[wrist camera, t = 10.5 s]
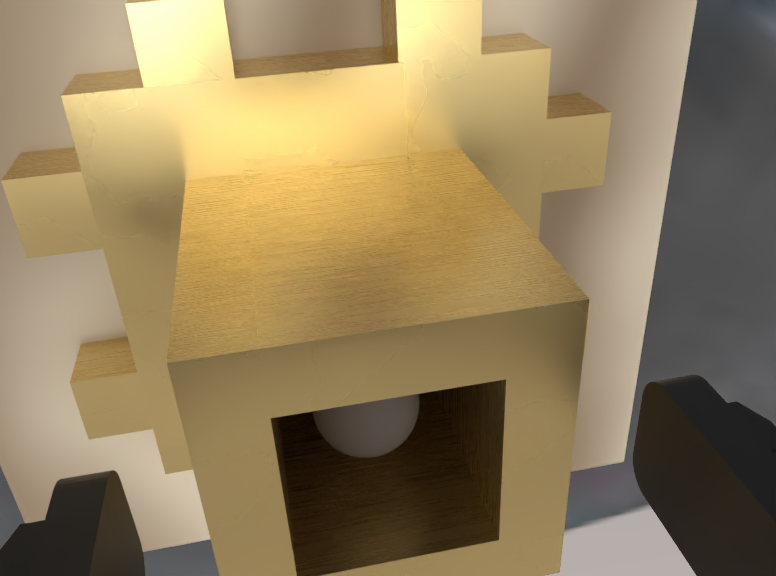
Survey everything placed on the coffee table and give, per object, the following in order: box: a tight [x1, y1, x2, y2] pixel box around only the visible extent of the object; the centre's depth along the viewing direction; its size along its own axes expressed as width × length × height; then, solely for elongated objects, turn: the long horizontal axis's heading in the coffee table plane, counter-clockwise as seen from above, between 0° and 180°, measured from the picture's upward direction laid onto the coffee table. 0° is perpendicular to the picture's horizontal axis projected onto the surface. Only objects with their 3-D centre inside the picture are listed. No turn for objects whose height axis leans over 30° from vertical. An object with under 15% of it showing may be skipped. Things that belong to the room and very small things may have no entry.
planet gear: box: [1, 0, 612, 576], centre depth 14 cm, size 12×12×8 cm
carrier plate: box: [0, 0, 697, 552], centre depth 15 cm, size 17×17×8 cm
